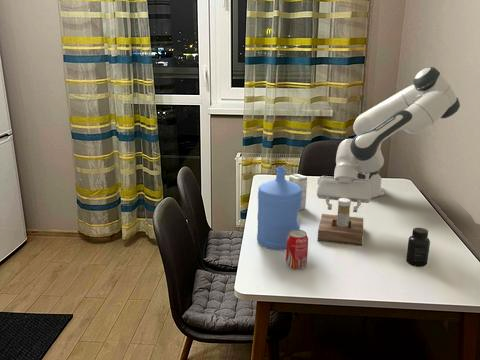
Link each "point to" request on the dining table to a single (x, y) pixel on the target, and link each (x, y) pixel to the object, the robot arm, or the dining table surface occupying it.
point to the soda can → (296, 249)
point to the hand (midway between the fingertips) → (342, 210)
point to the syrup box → (301, 182)
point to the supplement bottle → (418, 248)
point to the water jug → (277, 211)
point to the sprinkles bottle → (343, 212)
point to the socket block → (340, 230)
